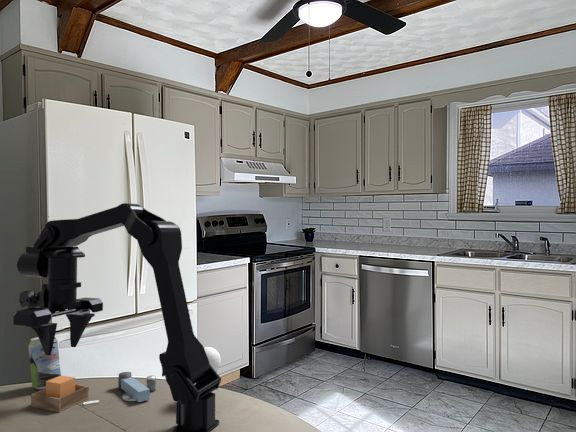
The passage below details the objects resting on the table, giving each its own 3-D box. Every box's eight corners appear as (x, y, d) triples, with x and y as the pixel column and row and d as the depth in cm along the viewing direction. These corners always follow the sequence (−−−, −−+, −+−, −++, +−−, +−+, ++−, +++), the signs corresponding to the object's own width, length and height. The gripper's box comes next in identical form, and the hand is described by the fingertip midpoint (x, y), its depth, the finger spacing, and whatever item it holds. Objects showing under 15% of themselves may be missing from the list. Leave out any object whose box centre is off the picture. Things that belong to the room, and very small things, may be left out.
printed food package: (48, 393, 100) (49, 340, 100) (20, 390, 102) (21, 338, 102) (67, 383, 106) (68, 333, 107) (41, 381, 108) (41, 332, 108)
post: (157, 389, 102) (157, 376, 102) (152, 392, 101) (152, 378, 101) (150, 388, 103) (150, 375, 103) (144, 391, 101) (144, 377, 101)
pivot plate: (155, 393, 100) (155, 392, 100) (138, 403, 94) (138, 401, 94) (134, 389, 102) (134, 388, 102) (115, 399, 97) (115, 398, 97)
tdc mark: (98, 400, 96) (98, 400, 96) (98, 402, 95) (98, 401, 95) (83, 403, 94) (83, 402, 94) (83, 405, 93) (83, 404, 93)
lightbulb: (219, 390, 102) (219, 342, 102) (221, 400, 96) (222, 349, 96) (192, 393, 100) (192, 344, 100) (193, 403, 94) (193, 351, 95)
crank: (151, 399, 96) (151, 385, 96) (136, 402, 94) (137, 389, 94) (129, 383, 106) (129, 370, 106) (116, 386, 104) (116, 373, 104)
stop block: (60, 405, 92) (60, 383, 92) (45, 402, 94) (45, 381, 94) (75, 398, 96) (75, 377, 96) (60, 396, 97) (61, 375, 97)
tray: (88, 398, 97) (88, 386, 97) (59, 412, 90) (59, 399, 90) (61, 393, 100) (61, 382, 100) (30, 406, 92) (31, 394, 92)
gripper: (68, 273, 107) (67, 337, 107) (-6, 281, 89) (-8, 359, 89) (105, 274, 103) (104, 341, 103) (35, 284, 86) (33, 365, 85)
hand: (61, 350), depth 95 cm, fingers open, 6 cm apart
